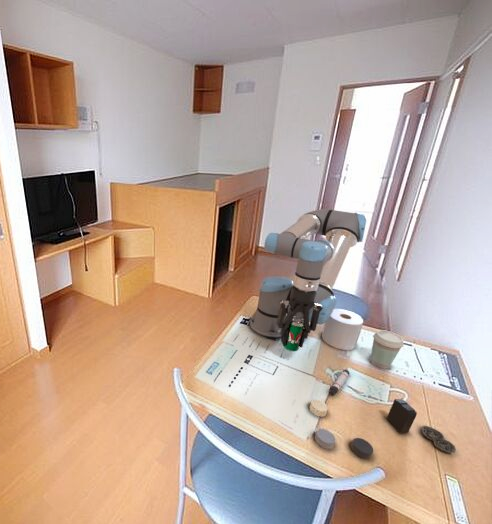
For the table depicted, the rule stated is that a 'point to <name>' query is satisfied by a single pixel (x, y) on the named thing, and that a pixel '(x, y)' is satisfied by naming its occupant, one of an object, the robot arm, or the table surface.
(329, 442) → the grey cap
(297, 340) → the soda can
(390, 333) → the coffee cup
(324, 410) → the cream cap
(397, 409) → the ink cartridge
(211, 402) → the table surface
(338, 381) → the marker
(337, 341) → the toilet paper roll
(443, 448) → the corroded twin loop
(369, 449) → the charcoal cap
